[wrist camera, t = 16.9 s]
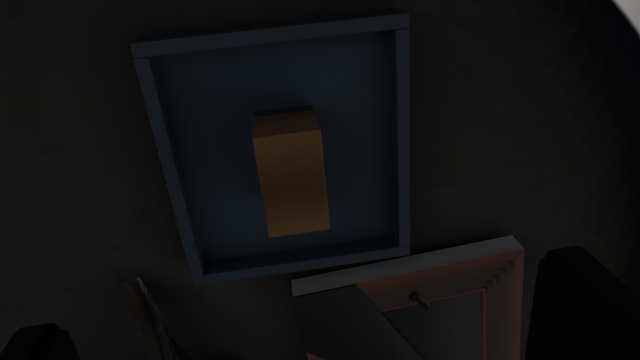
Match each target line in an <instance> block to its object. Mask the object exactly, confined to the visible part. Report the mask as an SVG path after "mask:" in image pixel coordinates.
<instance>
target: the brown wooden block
mask: <svg viewBox="0 0 640 360" xmlns="http://www.w3.org/2000/svg"><path fill="white" fill-rule="evenodd" d="M252 141H253V147H254V153H255V159H256V165H257V171H258V177H259V183H260V189H261V195H262V201H263V207H264V213H265V219H266V225H267V231H268V237H269V238H271V237H278V236H285V235H292V234H299V233H307V232H314V231H321V230H328V229H330V221H329V210H328V200H327V189H326V179H325V168H324V158H323V147H322V137H321V129H320V126H319V124H318V121H317V118H316V115H315V112H314V110H313V107H312V105H307V106H299V107H291V108H283V109H274V110H266V111H258V112H254V113H253V132H252Z"/></svg>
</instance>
